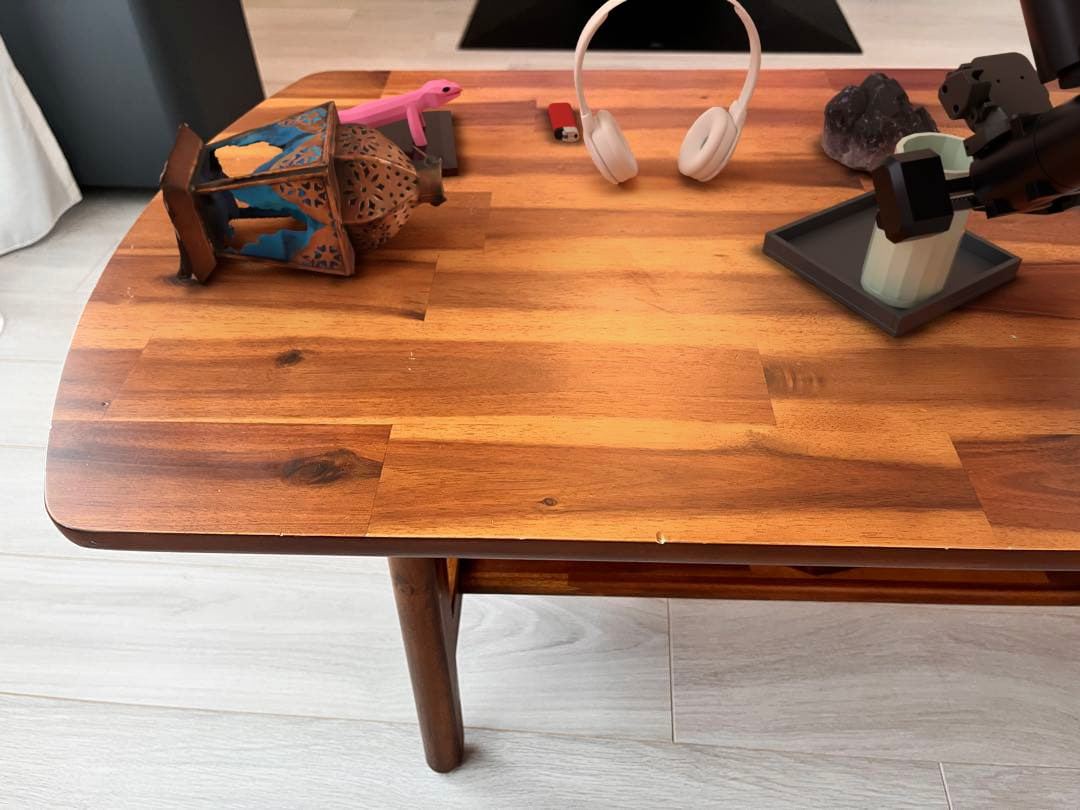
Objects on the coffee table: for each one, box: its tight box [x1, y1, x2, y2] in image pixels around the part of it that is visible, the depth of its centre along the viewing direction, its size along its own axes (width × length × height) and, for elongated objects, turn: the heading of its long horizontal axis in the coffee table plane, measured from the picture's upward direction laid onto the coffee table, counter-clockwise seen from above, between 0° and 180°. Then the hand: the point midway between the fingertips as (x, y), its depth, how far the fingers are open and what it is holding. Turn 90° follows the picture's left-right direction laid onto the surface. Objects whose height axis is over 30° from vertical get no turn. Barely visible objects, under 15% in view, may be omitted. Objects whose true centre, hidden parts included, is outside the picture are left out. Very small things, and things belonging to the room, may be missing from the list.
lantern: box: [159, 100, 448, 285], centre depth 83 cm, size 16×16×25 cm
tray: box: [761, 189, 1023, 339], centre depth 84 cm, size 16×16×2 cm
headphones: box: [573, 0, 762, 185], centre depth 90 cm, size 7×18×20 cm, turn 93°
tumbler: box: [860, 132, 974, 309], centre depth 76 cm, size 7×7×13 cm
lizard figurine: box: [337, 78, 464, 177], centre depth 100 cm, size 15×20×7 cm
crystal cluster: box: [821, 71, 941, 174], centre depth 98 cm, size 13×14×10 cm
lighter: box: [547, 101, 580, 143], centre depth 106 cm, size 3×1×8 cm
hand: (926, 213), depth 75 cm, fingers open, 9 cm apart
